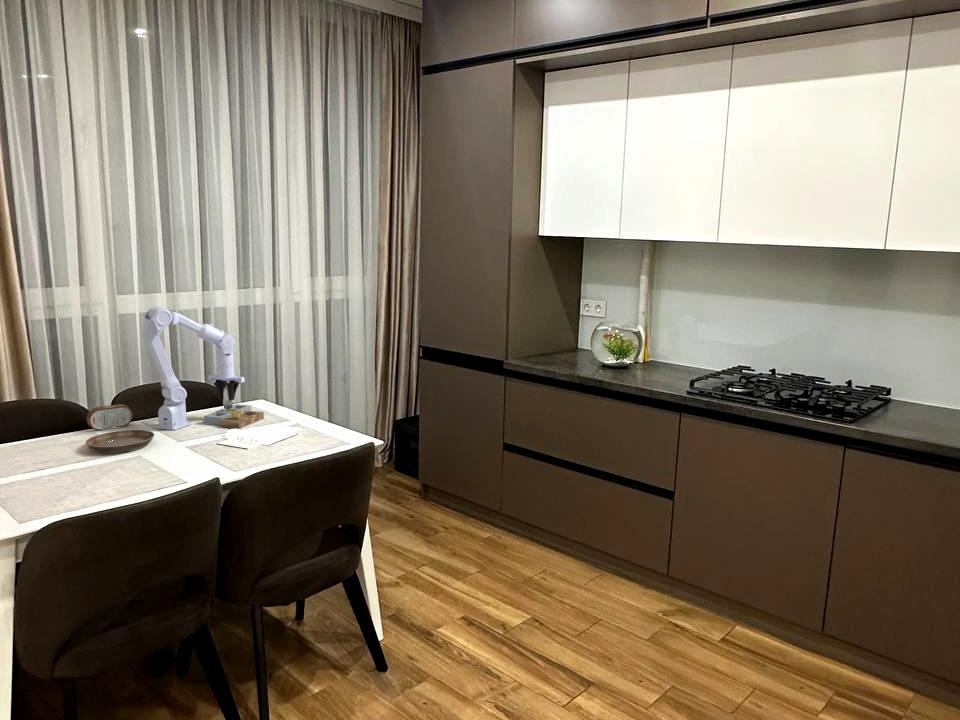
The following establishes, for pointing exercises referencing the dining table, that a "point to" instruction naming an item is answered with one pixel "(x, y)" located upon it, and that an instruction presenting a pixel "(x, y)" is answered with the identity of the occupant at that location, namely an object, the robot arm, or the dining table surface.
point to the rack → (223, 414)
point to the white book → (258, 436)
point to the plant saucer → (120, 441)
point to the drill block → (242, 420)
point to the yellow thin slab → (235, 413)
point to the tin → (109, 416)
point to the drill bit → (226, 399)
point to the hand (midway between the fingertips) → (227, 399)
